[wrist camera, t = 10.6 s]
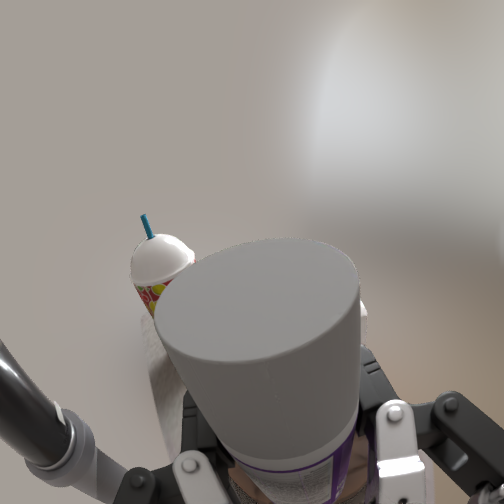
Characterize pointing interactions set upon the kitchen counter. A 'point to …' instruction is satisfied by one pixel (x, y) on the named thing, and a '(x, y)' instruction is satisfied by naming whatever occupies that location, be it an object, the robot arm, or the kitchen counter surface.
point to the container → (272, 359)
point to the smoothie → (157, 264)
